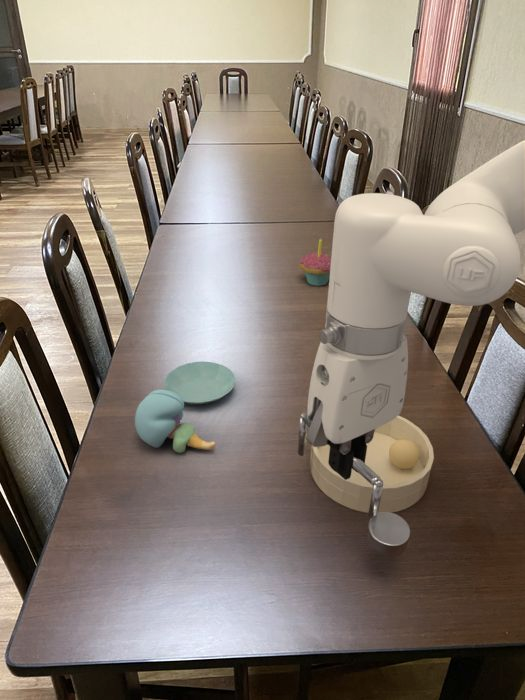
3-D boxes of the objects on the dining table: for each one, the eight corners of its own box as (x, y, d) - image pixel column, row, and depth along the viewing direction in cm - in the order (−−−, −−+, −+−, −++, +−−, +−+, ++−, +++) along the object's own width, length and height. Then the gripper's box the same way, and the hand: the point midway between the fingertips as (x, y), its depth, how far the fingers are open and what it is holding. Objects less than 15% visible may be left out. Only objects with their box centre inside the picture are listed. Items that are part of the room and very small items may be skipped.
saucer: (191, 422, 83) (190, 411, 82) (151, 389, 91) (150, 377, 90) (249, 394, 90) (249, 382, 89) (207, 364, 97) (207, 354, 96)
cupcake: (336, 289, 126) (341, 240, 120) (300, 289, 126) (303, 239, 120) (332, 274, 133) (336, 227, 127) (297, 274, 133) (300, 227, 127)
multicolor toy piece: (206, 424, 70) (124, 400, 73) (204, 473, 75) (127, 449, 78) (226, 394, 76) (150, 372, 79) (223, 441, 81) (151, 419, 83)
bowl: (453, 481, 73) (459, 456, 71) (365, 533, 65) (369, 507, 63) (370, 418, 85) (373, 395, 82) (287, 456, 77) (288, 432, 75)
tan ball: (423, 448, 71) (426, 460, 74) (402, 428, 74) (406, 440, 77) (400, 468, 71) (405, 478, 74) (380, 447, 74) (385, 458, 77)
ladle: (415, 544, 58) (427, 499, 54) (386, 564, 56) (396, 519, 52) (312, 446, 71) (316, 403, 67) (285, 459, 69) (287, 416, 65)
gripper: (327, 369, 45) (312, 519, 55) (448, 323, 53) (417, 462, 62) (276, 332, 51) (271, 474, 60) (393, 295, 58) (372, 427, 68)
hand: (345, 467), depth 61 cm, fingers closed on ladle, 1 cm apart
